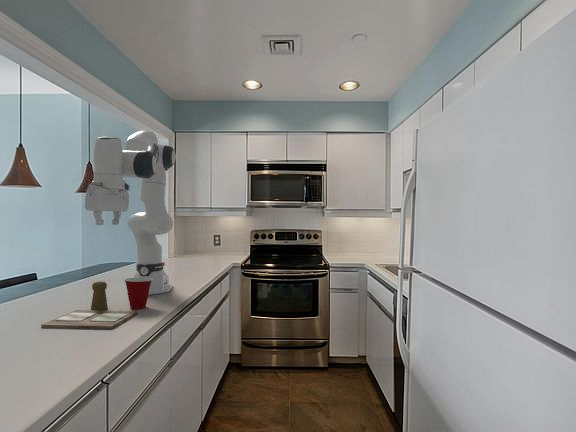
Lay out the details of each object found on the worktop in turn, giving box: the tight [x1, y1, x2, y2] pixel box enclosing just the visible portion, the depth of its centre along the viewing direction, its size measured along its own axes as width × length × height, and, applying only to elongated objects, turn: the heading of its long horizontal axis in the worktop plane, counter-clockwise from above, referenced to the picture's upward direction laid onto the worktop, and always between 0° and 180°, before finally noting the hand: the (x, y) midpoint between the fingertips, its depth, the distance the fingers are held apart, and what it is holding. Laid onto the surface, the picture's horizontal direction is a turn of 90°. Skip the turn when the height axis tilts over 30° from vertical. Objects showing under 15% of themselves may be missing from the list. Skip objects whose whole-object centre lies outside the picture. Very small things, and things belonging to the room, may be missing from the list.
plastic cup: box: [123, 277, 153, 310], centre depth 142 cm, size 11×11×12 cm
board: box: [40, 309, 139, 330], centre depth 124 cm, size 18×24×1 cm
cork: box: [90, 280, 109, 311], centre depth 138 cm, size 6×6×11 cm
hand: (107, 224), depth 118 cm, fingers open, 8 cm apart
